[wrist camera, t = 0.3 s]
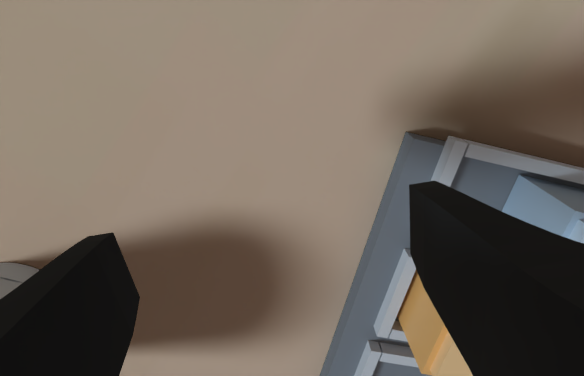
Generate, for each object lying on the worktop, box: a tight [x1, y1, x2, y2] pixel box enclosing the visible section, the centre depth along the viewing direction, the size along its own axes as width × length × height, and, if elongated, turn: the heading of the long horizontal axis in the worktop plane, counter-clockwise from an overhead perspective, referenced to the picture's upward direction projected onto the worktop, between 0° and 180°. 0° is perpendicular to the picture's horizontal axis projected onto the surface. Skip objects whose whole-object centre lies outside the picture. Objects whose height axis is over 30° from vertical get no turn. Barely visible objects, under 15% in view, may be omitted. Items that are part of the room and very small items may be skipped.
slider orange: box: [397, 270, 473, 376], centre depth 20 cm, size 3×4×5 cm
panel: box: [320, 132, 584, 376], centre depth 23 cm, size 18×19×2 cm
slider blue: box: [502, 175, 584, 244], centre depth 19 cm, size 3×4×5 cm
